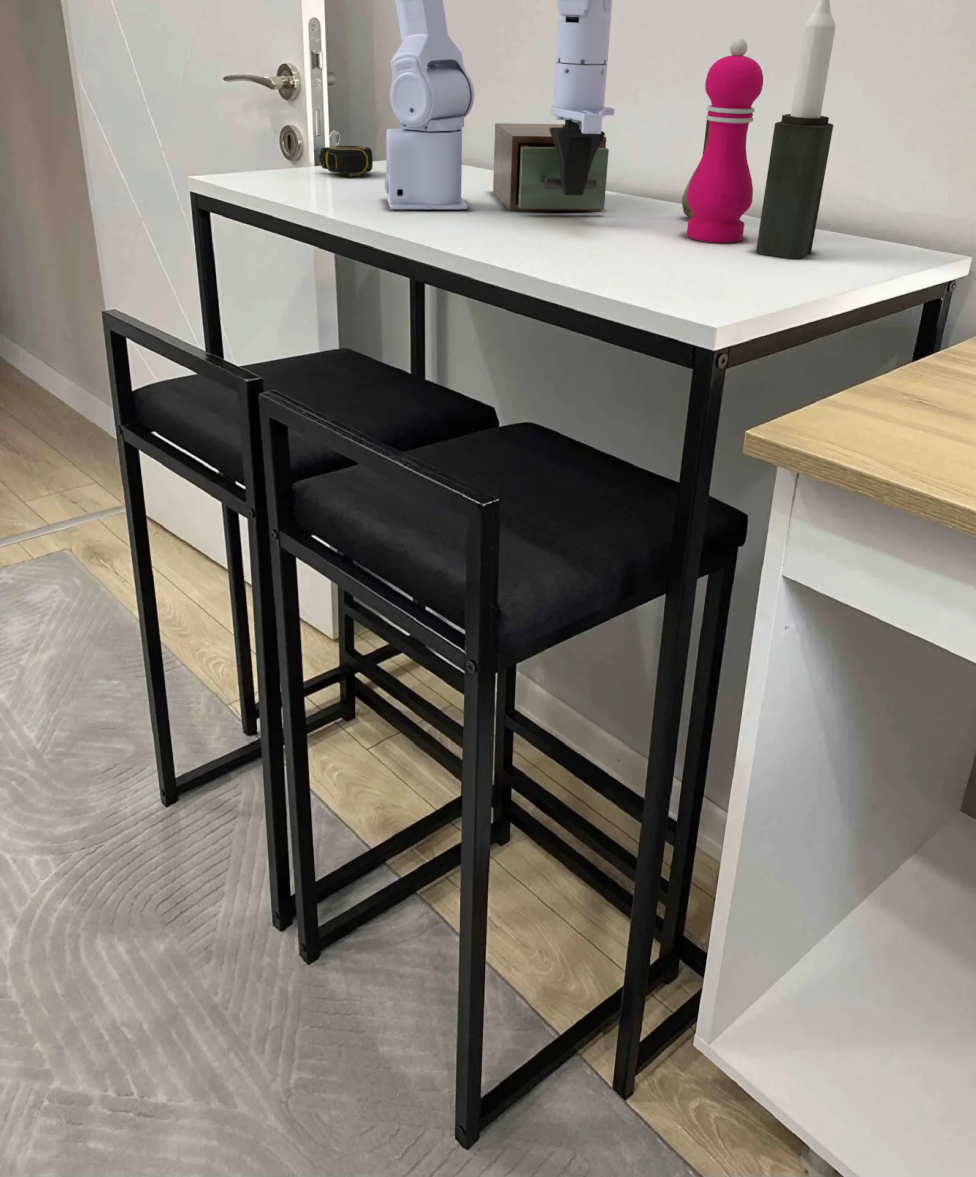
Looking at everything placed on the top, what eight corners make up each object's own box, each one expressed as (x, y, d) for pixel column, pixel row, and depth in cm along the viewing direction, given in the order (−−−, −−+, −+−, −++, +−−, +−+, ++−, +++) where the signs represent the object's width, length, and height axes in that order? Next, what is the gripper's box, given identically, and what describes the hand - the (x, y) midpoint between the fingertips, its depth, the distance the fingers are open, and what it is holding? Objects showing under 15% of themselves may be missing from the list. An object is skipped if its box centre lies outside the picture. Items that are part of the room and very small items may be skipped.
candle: (799, 259, 110) (846, -16, 98) (752, 253, 113) (792, -17, 100) (814, 251, 114) (860, -15, 102) (768, 245, 117) (808, -16, 104)
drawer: (612, 215, 125) (617, 153, 122) (526, 215, 123) (529, 153, 120) (581, 192, 139) (584, 136, 136) (503, 191, 138) (505, 135, 134)
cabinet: (600, 211, 132) (606, 137, 128) (509, 211, 131) (512, 135, 126) (577, 193, 144) (581, 124, 140) (492, 192, 142) (494, 123, 138)
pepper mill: (708, 246, 115) (734, 40, 106) (669, 233, 121) (690, 36, 111) (760, 241, 118) (790, 40, 109) (719, 229, 124) (744, 37, 114)
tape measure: (364, 170, 156) (363, 143, 154) (379, 177, 151) (378, 149, 149) (319, 172, 154) (318, 144, 152) (333, 179, 148) (331, 150, 146)
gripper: (634, 68, 110) (622, 205, 116) (601, 60, 122) (592, 184, 129) (567, 67, 109) (559, 205, 115) (541, 58, 121) (535, 184, 128)
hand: (572, 194), depth 122 cm, fingers closed
